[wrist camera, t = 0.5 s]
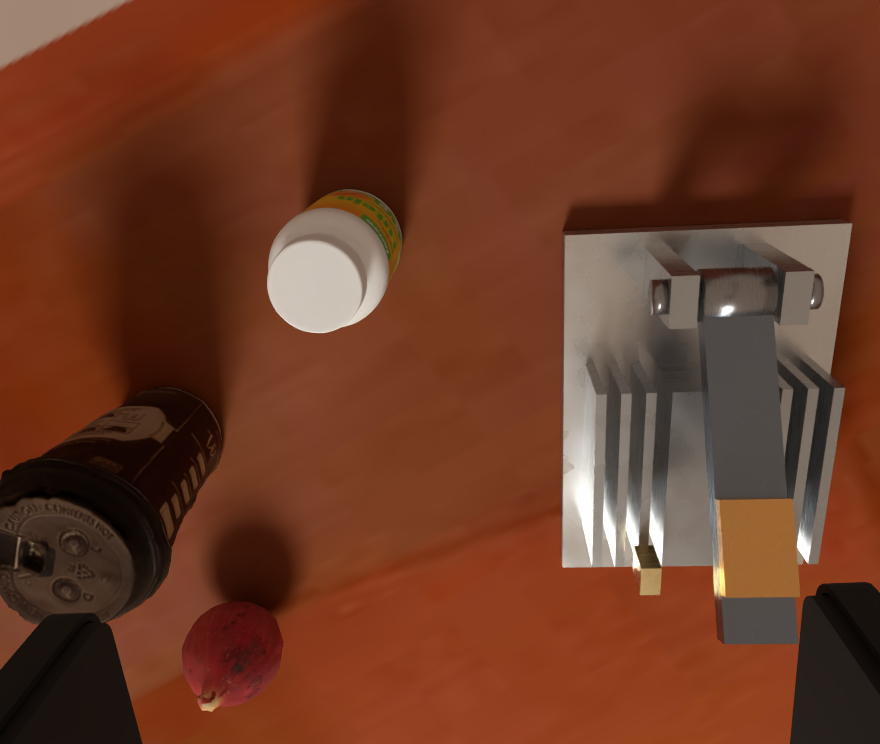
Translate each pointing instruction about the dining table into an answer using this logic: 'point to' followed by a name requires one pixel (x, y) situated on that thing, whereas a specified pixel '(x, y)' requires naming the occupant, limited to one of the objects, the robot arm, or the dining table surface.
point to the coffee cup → (105, 507)
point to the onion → (231, 654)
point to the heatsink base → (684, 385)
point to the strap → (746, 458)
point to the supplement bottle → (334, 261)
